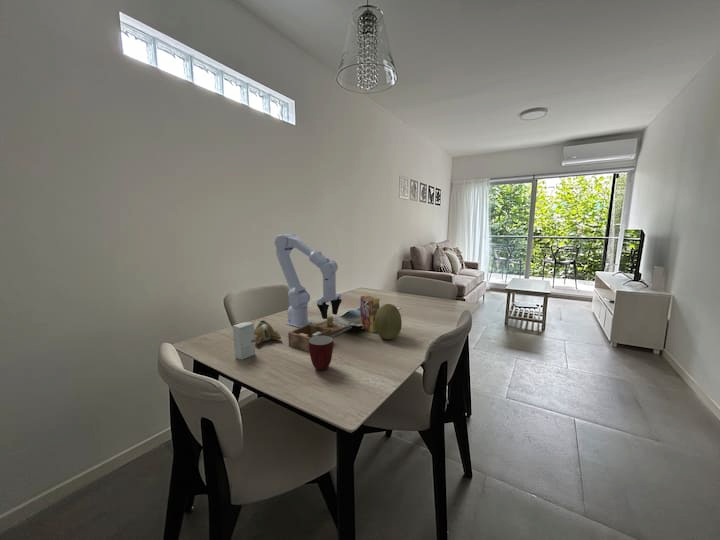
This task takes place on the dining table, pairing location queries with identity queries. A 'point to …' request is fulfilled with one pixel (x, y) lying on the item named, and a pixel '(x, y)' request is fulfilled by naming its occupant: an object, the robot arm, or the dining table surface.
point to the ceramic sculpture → (264, 332)
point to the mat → (340, 332)
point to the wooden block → (331, 325)
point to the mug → (321, 351)
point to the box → (303, 341)
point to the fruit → (388, 321)
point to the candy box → (369, 312)
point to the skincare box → (244, 340)
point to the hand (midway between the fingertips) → (329, 316)
